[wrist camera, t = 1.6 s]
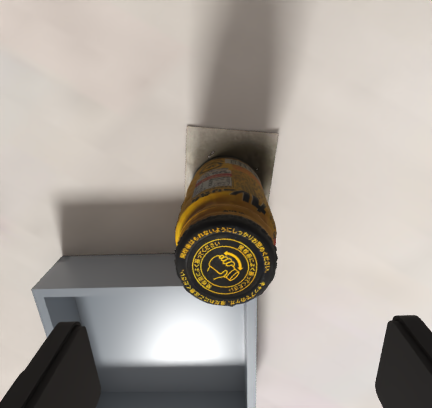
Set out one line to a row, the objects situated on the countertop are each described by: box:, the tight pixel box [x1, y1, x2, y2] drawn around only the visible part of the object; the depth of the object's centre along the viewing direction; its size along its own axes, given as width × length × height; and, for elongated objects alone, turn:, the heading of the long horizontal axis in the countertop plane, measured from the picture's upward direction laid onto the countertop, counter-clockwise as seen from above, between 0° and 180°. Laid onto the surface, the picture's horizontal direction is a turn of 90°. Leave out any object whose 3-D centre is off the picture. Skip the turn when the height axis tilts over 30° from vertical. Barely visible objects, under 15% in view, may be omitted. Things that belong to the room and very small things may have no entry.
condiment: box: [175, 126, 278, 307], centre depth 20 cm, size 7×8×12 cm
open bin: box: [31, 253, 257, 408], centre depth 30 cm, size 18×18×5 cm
